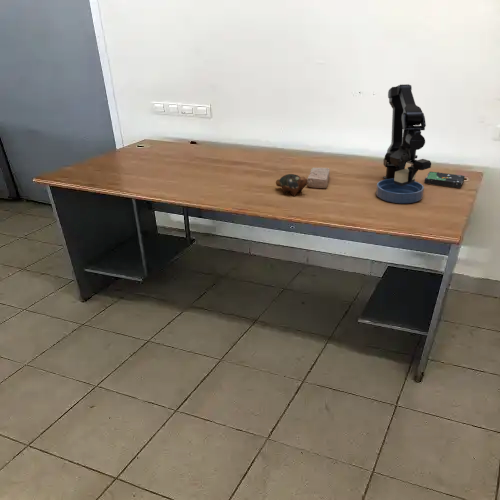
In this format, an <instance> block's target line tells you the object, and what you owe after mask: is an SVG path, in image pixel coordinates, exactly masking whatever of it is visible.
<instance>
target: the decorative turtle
mask: <svg viewBox="0 0 500 500" xmlns="http://www.w3.org/2000/svg"><path fill="white" fill-rule="evenodd" d="M307 179H308V178H306V177H305V176H300V175H298V174H294V173H288V174H285V175H283V176H281V177H280V178H279V179H277V180H275V185H276V186H277V187H279V188H281V189H282V193H283V194H288V193H290V194H291V196H293V197H295V196H296V195H297V194H298V193H302V191H303V189H305V188H306V187H307V186H308V180H307Z"/></svg>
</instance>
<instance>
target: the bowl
mask: <svg viewBox="0 0 500 500" xmlns="http://www.w3.org/2000/svg"><path fill="white" fill-rule="evenodd" d="M375 189H376V190H375V195H376V197H378V198H379V199H381V200H382V201H385V202H388V203H391V204H399V205H400V204H401V205H407V204H413V203H417V202H419V201H421V200H422V199H423V197H424V190H425V186H424V185H423V184H422V183H421V182H418V181H416V180H415V182H413V183H410V184H407V185H404V186H399V185H396V184H394V178H392V179H382V180H379V181H378V182H377V183H376V188H375Z"/></svg>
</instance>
